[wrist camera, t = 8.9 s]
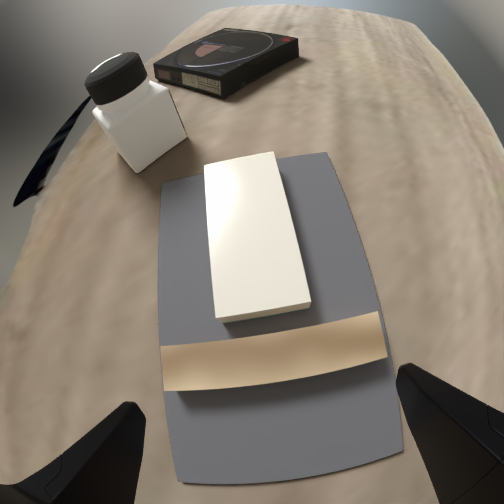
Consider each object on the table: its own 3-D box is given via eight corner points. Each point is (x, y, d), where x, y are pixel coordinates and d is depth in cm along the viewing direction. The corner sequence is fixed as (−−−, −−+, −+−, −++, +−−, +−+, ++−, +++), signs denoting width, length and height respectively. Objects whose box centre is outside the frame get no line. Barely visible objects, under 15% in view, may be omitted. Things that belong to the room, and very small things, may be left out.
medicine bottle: (189, 137, 28) (153, 47, 18) (137, 175, 27) (83, 90, 16) (161, 118, 31) (128, 43, 20) (116, 150, 30) (71, 79, 19)
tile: (311, 301, 16) (273, 151, 22) (215, 318, 17) (204, 165, 22) (309, 308, 18) (274, 166, 24) (223, 323, 19) (209, 179, 24)
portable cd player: (157, 83, 37) (150, 65, 34) (228, 44, 41) (225, 28, 38) (222, 103, 31) (216, 78, 28) (299, 58, 35) (297, 38, 32)
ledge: (377, 358, 16) (387, 356, 14) (176, 389, 17) (164, 390, 15) (369, 317, 17) (377, 311, 15) (172, 349, 18) (160, 346, 16)
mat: (400, 448, 13) (403, 450, 13) (180, 479, 14) (178, 481, 14) (326, 155, 24) (326, 152, 24) (164, 186, 25) (162, 183, 25)
